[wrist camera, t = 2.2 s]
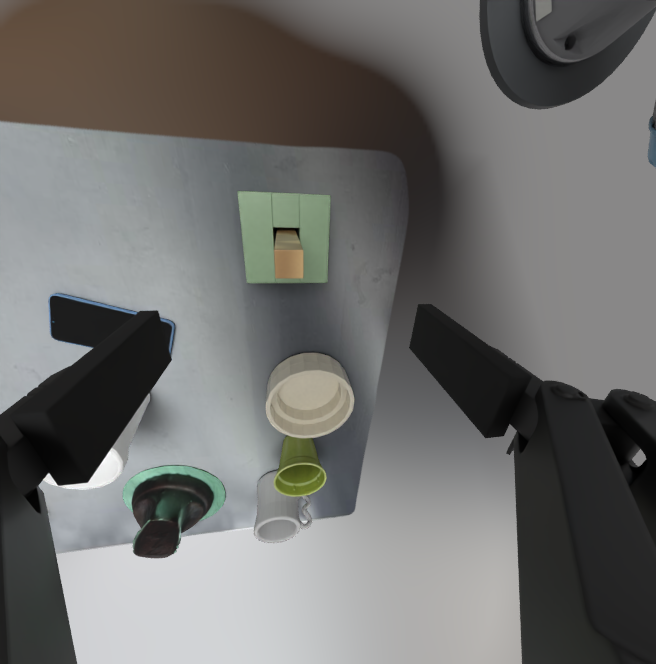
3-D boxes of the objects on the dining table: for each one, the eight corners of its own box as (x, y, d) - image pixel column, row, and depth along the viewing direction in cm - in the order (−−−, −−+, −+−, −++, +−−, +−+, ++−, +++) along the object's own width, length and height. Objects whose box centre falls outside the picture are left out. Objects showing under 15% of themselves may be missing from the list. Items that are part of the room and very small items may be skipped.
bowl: (319, 335, 44) (324, 354, 38) (359, 388, 50) (368, 410, 45) (250, 379, 46) (246, 402, 40) (298, 424, 52) (300, 450, 47)
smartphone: (168, 363, 41) (49, 340, 36) (170, 360, 42) (53, 337, 37) (174, 322, 38) (46, 292, 33) (176, 320, 39) (51, 290, 34)
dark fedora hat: (110, 467, 48) (225, 462, 53) (143, 478, 63) (230, 473, 68) (72, 576, 40) (212, 558, 45) (121, 559, 55) (222, 547, 60)
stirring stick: (294, 226, 35) (303, 250, 20) (294, 243, 36) (303, 278, 21) (277, 226, 35) (273, 249, 19) (278, 243, 36) (275, 278, 20)
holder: (323, 195, 34) (330, 195, 29) (321, 271, 39) (327, 283, 34) (244, 191, 33) (237, 190, 27) (251, 271, 37) (246, 283, 32)
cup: (160, 369, 42) (114, 434, 31) (167, 416, 46) (129, 488, 35) (87, 367, 40) (9, 435, 28) (102, 416, 44) (39, 492, 33)
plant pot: (304, 461, 57) (307, 501, 50) (266, 448, 54) (263, 490, 46) (329, 433, 55) (336, 472, 47) (290, 418, 51) (292, 457, 43)
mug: (251, 490, 59) (245, 541, 50) (266, 464, 56) (264, 514, 47) (300, 498, 63) (303, 547, 55) (317, 474, 60) (323, 522, 51)
